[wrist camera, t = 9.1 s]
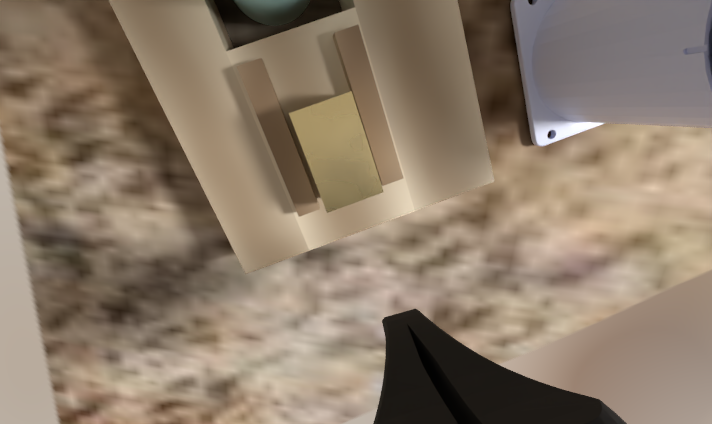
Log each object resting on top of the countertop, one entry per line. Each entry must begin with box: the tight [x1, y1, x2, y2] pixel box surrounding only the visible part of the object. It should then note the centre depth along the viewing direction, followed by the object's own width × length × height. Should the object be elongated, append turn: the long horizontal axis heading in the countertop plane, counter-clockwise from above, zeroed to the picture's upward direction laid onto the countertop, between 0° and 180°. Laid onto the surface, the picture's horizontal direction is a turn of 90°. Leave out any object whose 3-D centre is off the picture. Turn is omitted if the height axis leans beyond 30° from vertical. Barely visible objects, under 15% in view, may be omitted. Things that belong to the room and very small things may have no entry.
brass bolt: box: [289, 91, 384, 213], centre depth 14 cm, size 2×4×2 cm, turn 19°
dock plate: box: [109, 0, 494, 274], centre depth 15 cm, size 13×17×4 cm
